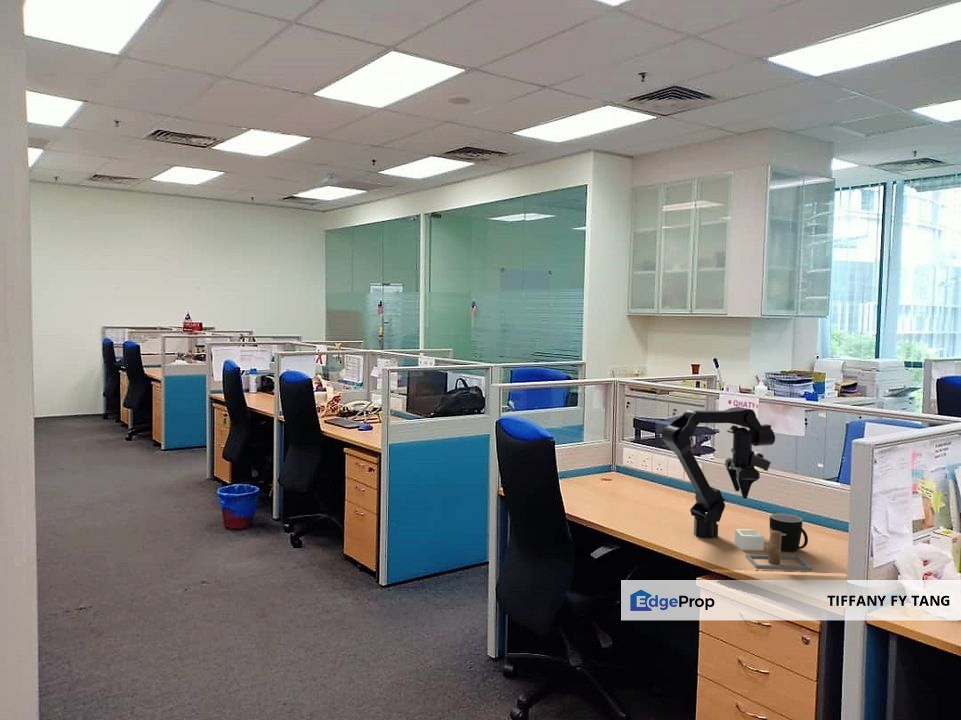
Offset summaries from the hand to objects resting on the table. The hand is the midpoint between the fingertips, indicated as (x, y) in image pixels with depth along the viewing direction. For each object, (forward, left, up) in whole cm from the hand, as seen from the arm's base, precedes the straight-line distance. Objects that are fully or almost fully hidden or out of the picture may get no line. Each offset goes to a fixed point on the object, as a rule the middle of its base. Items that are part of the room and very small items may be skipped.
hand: (740, 494), depth 223 cm
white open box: (-2, -14, -13) cm, 20 cm away
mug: (+9, -16, -13) cm, 23 cm away
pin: (+1, -28, -12) cm, 31 cm away
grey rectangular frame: (+2, -28, -13) cm, 31 cm away
